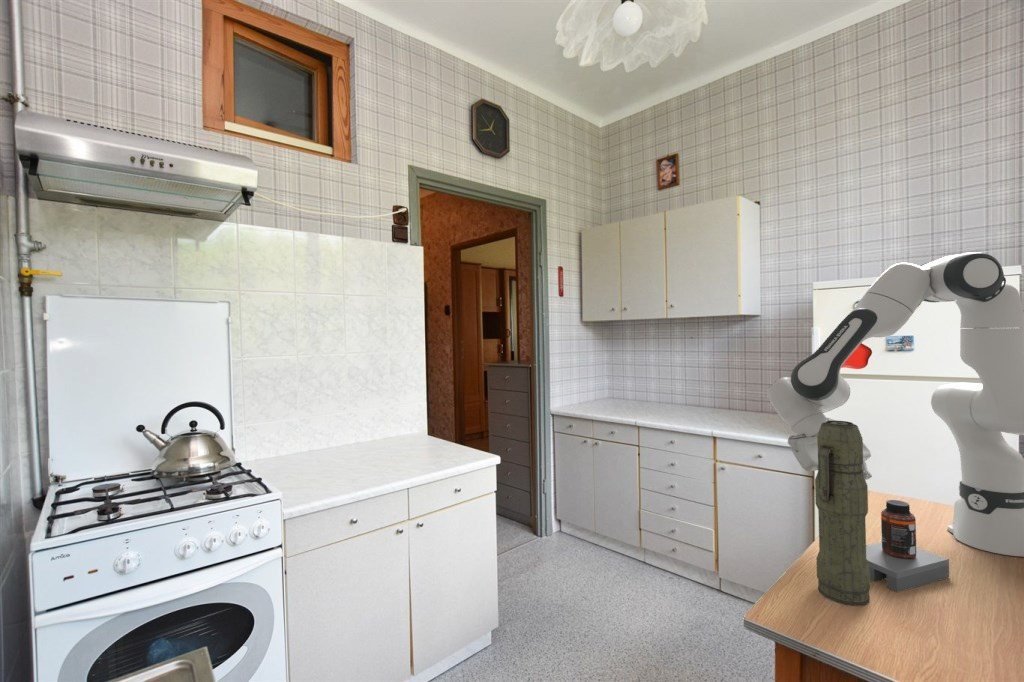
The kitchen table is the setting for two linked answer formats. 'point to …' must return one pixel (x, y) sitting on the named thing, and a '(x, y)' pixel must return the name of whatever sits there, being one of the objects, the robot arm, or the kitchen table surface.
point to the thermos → (842, 515)
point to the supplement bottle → (898, 530)
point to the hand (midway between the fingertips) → (853, 481)
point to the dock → (905, 568)
